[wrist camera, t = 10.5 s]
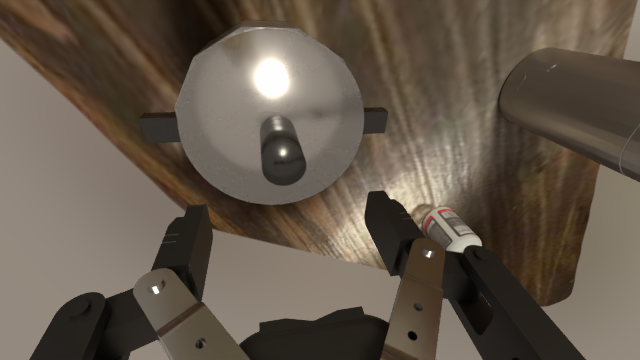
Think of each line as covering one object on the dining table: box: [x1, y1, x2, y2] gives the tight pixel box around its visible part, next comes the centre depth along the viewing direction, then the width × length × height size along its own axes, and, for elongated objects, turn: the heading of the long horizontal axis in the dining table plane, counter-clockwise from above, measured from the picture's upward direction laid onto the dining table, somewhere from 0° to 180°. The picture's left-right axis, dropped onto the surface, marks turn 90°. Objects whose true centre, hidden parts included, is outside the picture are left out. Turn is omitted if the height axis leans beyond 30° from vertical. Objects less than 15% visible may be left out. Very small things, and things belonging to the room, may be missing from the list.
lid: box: [177, 28, 364, 205], centre depth 20 cm, size 14×14×8 cm
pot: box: [139, 20, 388, 155], centre depth 26 cm, size 20×14×8 cm
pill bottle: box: [423, 207, 482, 253], centre depth 41 cm, size 5×5×10 cm
